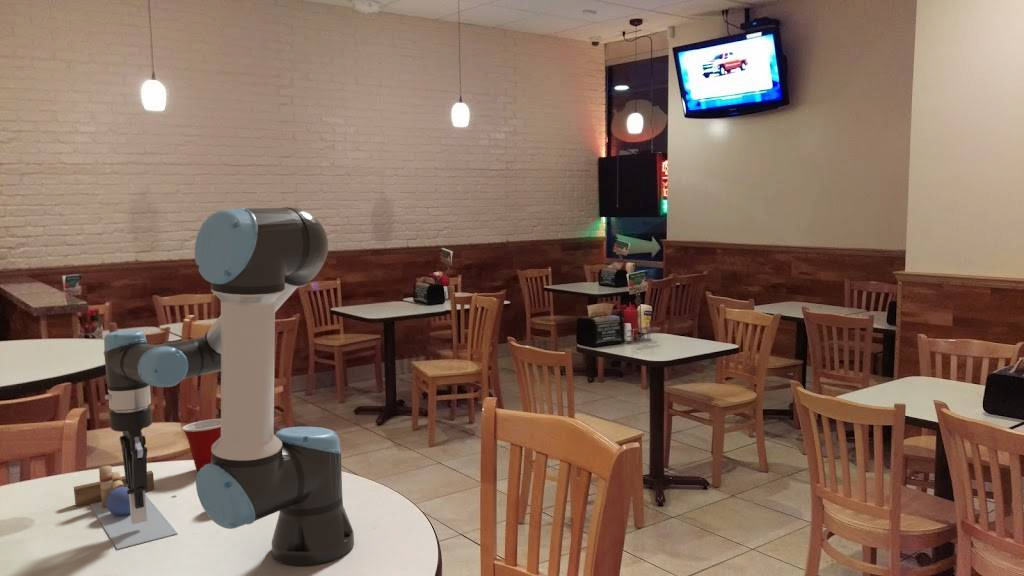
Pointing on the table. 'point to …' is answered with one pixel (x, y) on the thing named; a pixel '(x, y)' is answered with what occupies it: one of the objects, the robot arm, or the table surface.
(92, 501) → the backstop
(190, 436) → the plastic cup
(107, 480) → the pin left
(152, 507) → the plate
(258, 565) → the table surface
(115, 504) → the ball
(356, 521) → the table surface
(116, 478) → the pin front
